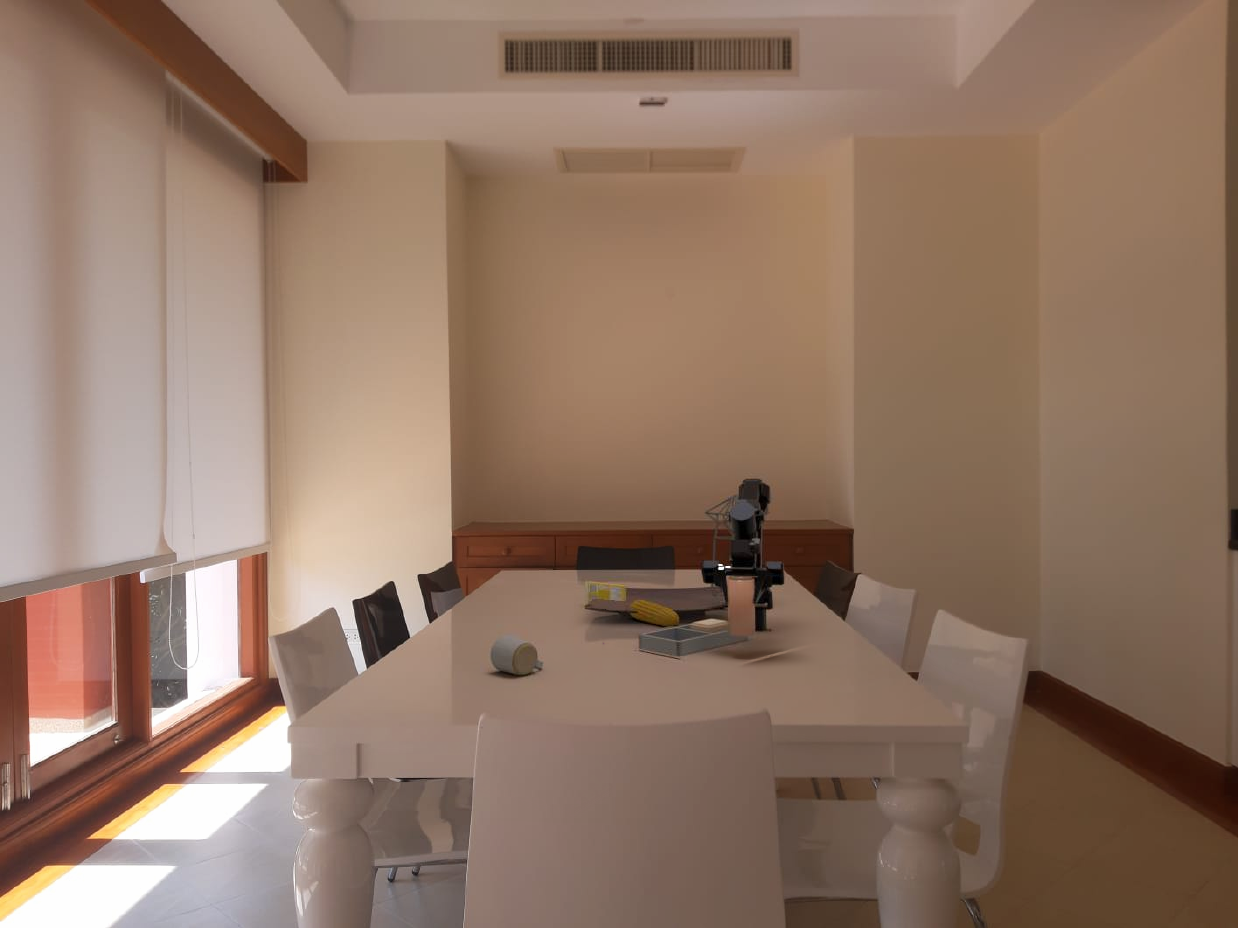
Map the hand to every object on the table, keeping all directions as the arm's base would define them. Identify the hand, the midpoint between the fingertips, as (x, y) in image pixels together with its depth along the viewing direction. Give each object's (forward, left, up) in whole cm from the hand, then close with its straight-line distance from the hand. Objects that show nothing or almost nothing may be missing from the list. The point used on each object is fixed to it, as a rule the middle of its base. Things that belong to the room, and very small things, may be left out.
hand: (740, 602), depth 193 cm
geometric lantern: (-56, -46, -13) cm, 74 cm away
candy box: (-27, -74, -14) cm, 80 cm away
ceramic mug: (+40, -29, -13) cm, 51 cm away
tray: (-4, -18, -13) cm, 23 cm away
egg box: (-10, -18, -12) cm, 24 cm away
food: (-21, -47, -14) cm, 53 cm away
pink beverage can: (-1, -1, -7) cm, 7 cm away
